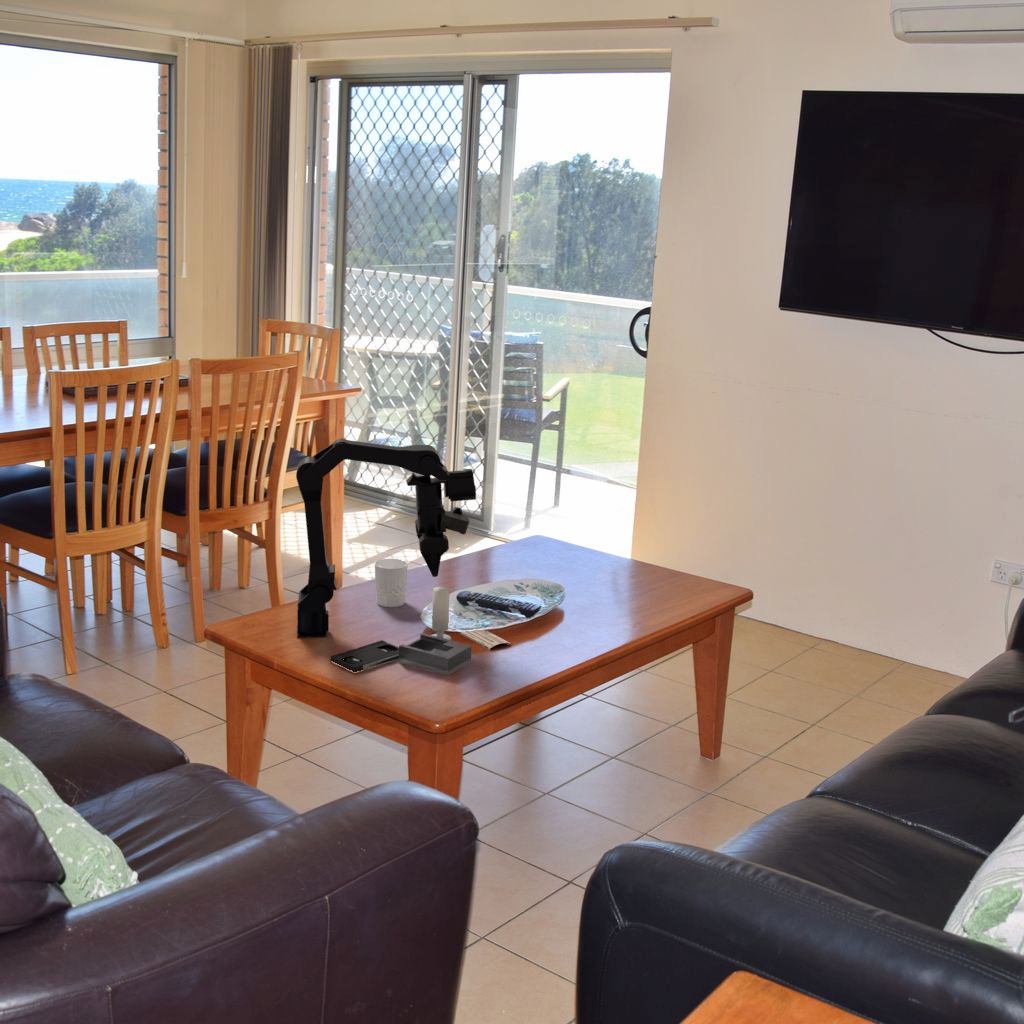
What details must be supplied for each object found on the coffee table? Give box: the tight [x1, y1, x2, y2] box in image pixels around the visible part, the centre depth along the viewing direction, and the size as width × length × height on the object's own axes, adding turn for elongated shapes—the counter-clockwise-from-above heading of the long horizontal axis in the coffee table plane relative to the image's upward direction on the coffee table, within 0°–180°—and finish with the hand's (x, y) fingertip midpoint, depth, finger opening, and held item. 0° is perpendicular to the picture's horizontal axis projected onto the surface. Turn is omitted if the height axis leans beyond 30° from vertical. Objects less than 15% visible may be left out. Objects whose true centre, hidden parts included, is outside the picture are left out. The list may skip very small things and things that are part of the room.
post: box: [431, 586, 452, 641], centre depth 262 cm, size 5×5×12 cm
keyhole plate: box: [398, 633, 473, 677], centre depth 252 cm, size 12×9×4 cm
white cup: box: [374, 558, 409, 608], centre depth 286 cm, size 8×8×10 cm
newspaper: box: [458, 629, 512, 651], centre depth 271 cm, size 24×7×2 cm, turn 37°
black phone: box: [330, 640, 399, 672], centre depth 252 cm, size 14×8×2 cm, turn 137°
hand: (433, 570), depth 266 cm, fingers open, 9 cm apart
